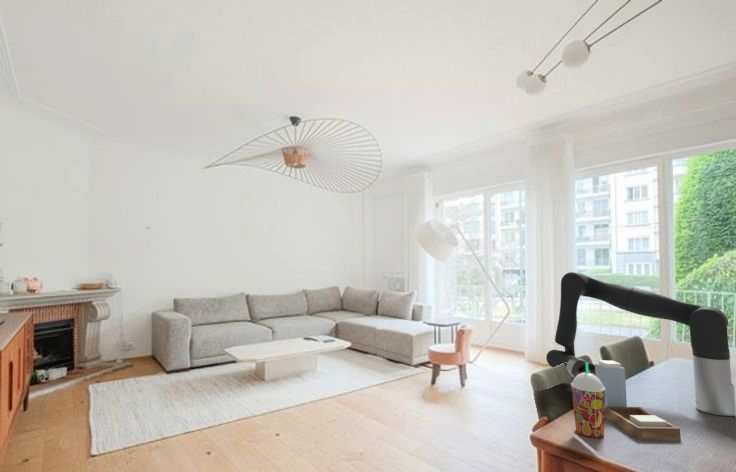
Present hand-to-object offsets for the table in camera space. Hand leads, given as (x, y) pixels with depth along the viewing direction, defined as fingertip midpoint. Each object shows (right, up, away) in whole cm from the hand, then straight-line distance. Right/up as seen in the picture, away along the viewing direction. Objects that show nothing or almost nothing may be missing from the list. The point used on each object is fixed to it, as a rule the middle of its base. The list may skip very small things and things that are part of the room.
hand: (607, 383), depth 127 cm
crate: (0, -8, -15) cm, 17 cm away
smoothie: (-17, -8, -19) cm, 26 cm away
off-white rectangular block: (0, -7, -19) cm, 20 cm away
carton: (0, -9, -2) cm, 9 cm away
